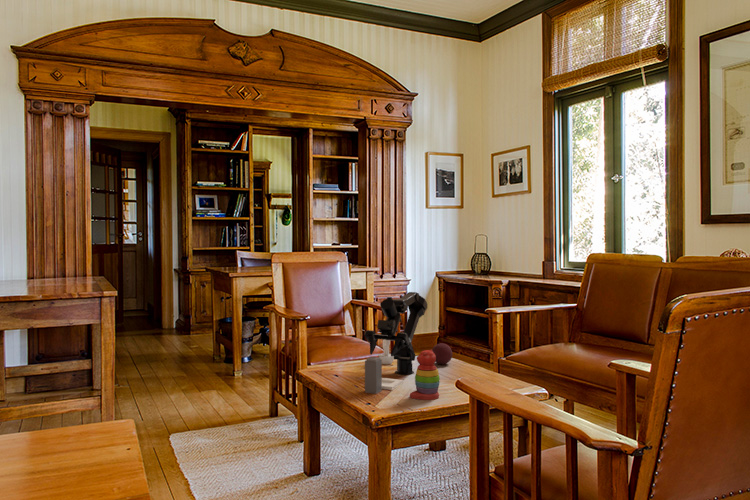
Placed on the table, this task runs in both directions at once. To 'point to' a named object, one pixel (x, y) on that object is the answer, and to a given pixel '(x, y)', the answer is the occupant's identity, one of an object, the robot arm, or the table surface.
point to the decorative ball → (442, 353)
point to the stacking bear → (426, 377)
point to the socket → (390, 383)
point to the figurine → (386, 353)
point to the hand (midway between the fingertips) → (381, 354)
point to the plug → (373, 375)
